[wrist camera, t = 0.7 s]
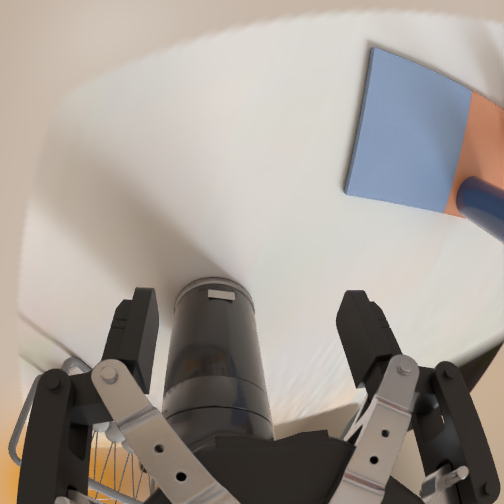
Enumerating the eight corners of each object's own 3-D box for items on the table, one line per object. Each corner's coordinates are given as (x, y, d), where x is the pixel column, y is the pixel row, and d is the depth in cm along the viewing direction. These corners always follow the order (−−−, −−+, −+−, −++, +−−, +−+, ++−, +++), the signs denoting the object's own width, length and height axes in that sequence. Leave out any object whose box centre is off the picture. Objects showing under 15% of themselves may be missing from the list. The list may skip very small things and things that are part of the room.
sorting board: (500, 225, 37) (504, 228, 36) (343, 192, 33) (346, 194, 32) (526, 126, 30) (530, 127, 29) (371, 47, 25) (374, 46, 25)
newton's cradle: (38, 369, 41) (3, 456, 25) (71, 349, 39) (33, 451, 23) (156, 453, 54) (152, 528, 38) (195, 443, 52) (196, 525, 37)
